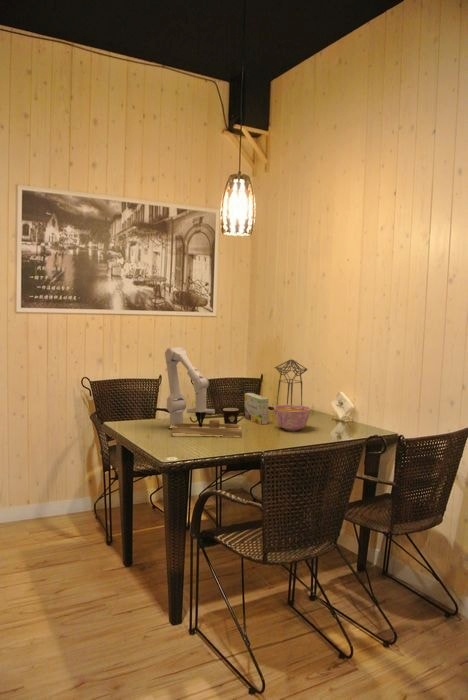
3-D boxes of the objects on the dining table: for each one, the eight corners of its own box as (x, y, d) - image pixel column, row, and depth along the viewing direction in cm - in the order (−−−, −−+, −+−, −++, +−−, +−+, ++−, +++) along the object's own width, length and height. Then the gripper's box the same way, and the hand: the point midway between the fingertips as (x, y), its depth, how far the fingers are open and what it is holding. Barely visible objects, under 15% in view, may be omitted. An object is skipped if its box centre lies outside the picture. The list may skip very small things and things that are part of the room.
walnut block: (209, 427, 291) (209, 420, 290) (219, 427, 291) (219, 420, 290) (209, 429, 286) (209, 422, 285) (218, 430, 286) (219, 422, 285)
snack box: (243, 418, 331) (244, 393, 330) (252, 417, 334) (252, 392, 333) (260, 425, 312) (260, 398, 311) (268, 424, 315) (269, 398, 313)
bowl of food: (267, 430, 299) (267, 409, 298) (281, 423, 316) (282, 403, 315) (302, 435, 289) (302, 413, 288) (315, 427, 307) (315, 407, 306)
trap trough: (174, 431, 294) (174, 423, 294) (241, 432, 294) (241, 424, 293) (171, 436, 283) (171, 427, 283) (241, 437, 283) (241, 428, 282)
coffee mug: (221, 428, 303) (221, 410, 302) (225, 425, 311) (225, 407, 310) (241, 429, 300) (241, 411, 299) (245, 426, 308) (245, 408, 307)
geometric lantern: (288, 413, 348) (291, 357, 345) (307, 417, 336) (309, 360, 333) (270, 415, 338) (272, 358, 335) (288, 420, 326) (291, 361, 323)
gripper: (186, 402, 283) (186, 428, 284) (214, 402, 283) (214, 428, 284) (187, 399, 290) (187, 425, 291) (215, 400, 290) (214, 425, 291)
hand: (200, 426), depth 288 cm, fingers closed
